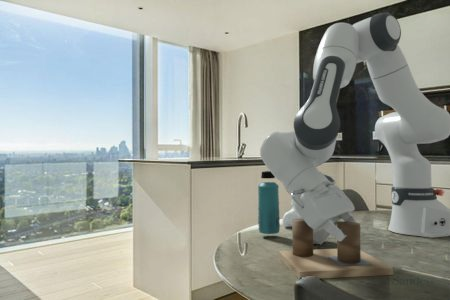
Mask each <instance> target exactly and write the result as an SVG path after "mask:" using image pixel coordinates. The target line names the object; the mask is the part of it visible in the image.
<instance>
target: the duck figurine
mask: <svg viewBox="0 0 450 300" xmlns="http://www.w3.org/2000/svg"><path fill="white" fill-rule="evenodd" d="M290 205H291V207H292V208H290V210H289V211H286V212H285V213H284V215H283V217H282V219H281V222H282V226H283V227H285V228H292V219H297V218H302V217H301V215H300V214H299V213H298V211H297V210H296V208H295V206H294V201H293V199H291V201H290Z"/></svg>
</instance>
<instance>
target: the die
mask: <svg viewBox="0 0 450 300" xmlns="http://www.w3.org/2000/svg"><path fill="white" fill-rule="evenodd" d="M330 235H331V234H330V233H328V232H327V231H325V230H324V228H323V227H320V228H317V229H313V245H318V244H320V246H322V244H323V243H324V242H326V240H327V238H328V237H329V236H330Z"/></svg>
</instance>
